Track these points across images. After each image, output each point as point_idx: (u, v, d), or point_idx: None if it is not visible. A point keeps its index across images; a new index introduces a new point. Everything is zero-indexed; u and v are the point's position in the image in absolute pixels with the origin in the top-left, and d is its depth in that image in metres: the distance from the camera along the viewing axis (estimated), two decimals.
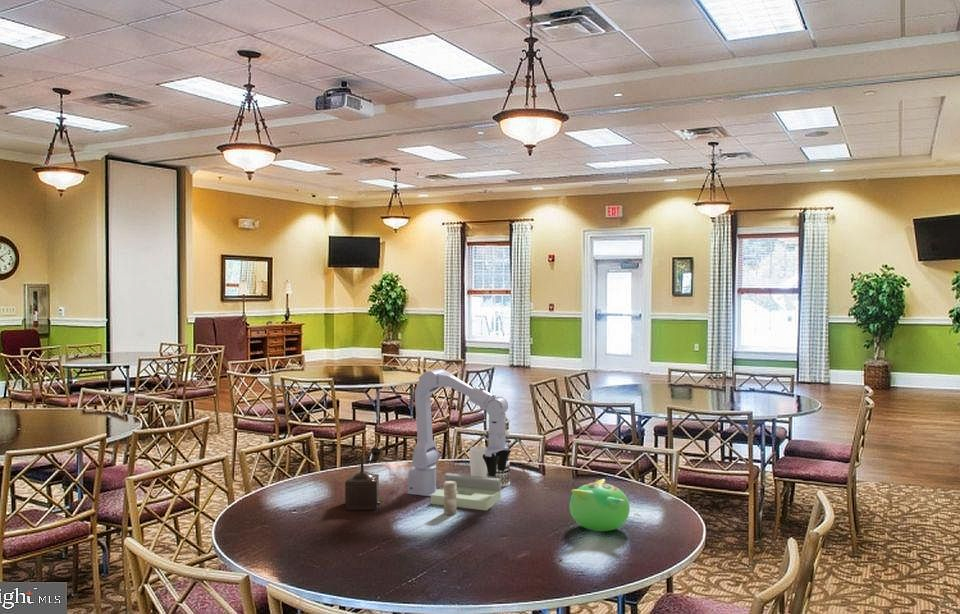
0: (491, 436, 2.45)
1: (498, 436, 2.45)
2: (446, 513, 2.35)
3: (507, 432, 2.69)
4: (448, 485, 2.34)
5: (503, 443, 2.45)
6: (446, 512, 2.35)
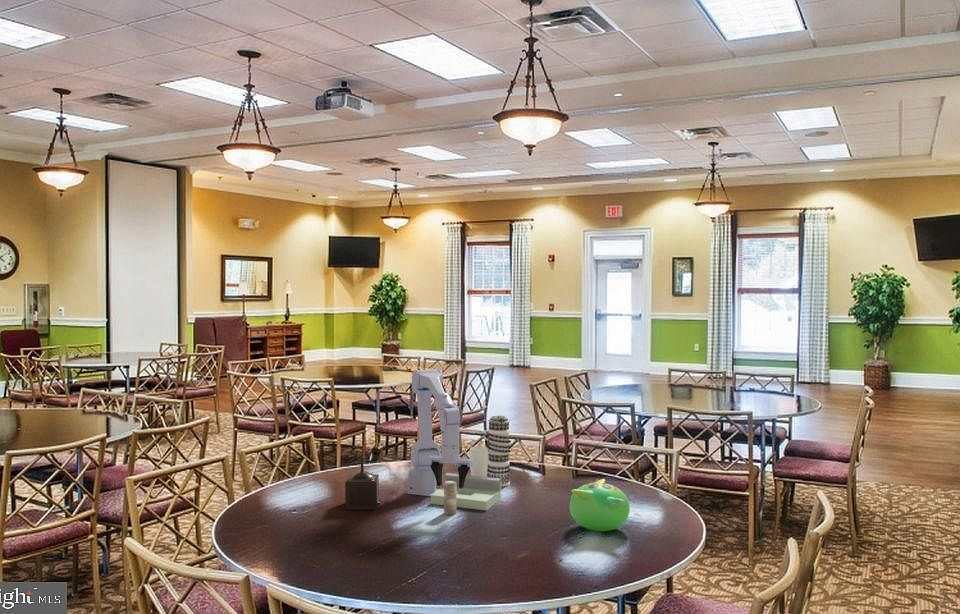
0: None
1: None
2: (446, 513, 2.35)
3: (507, 432, 2.69)
4: (448, 485, 2.34)
5: (444, 455, 2.33)
6: (446, 512, 2.35)
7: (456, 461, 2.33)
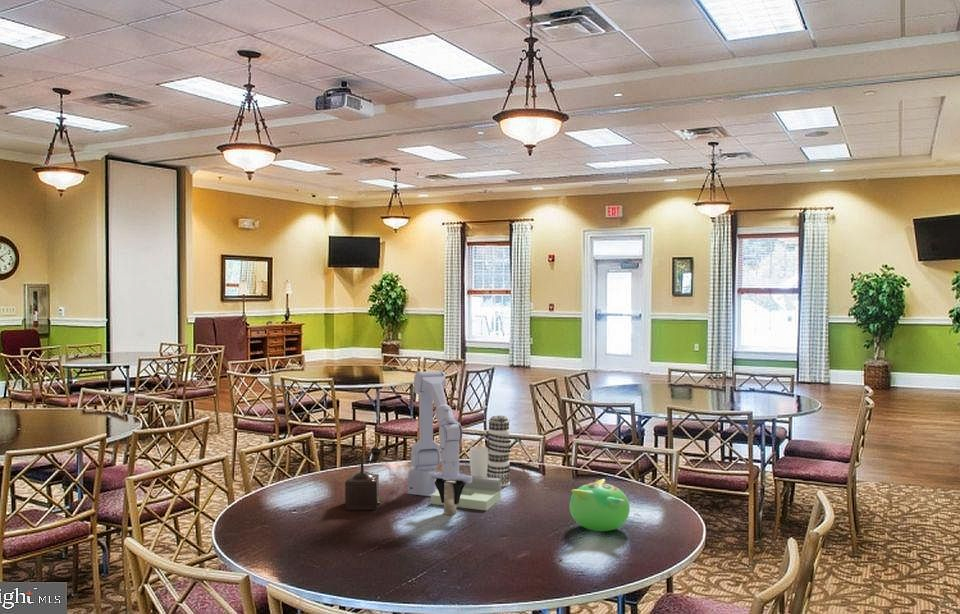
0: None
1: None
2: (446, 513, 2.35)
3: (507, 432, 2.69)
4: (448, 485, 2.34)
5: (444, 471, 2.33)
6: (446, 512, 2.35)
7: (456, 478, 2.33)
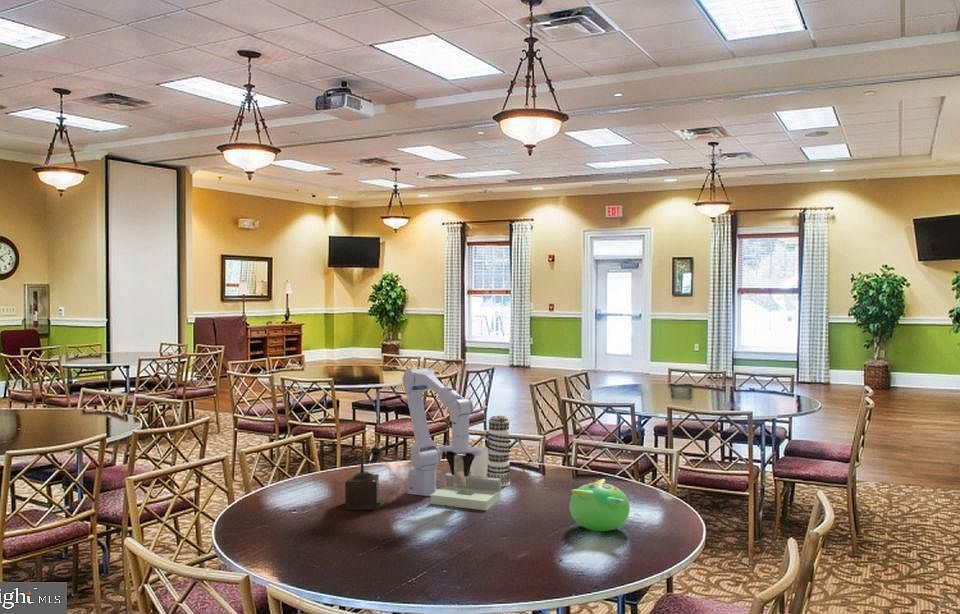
0: None
1: (452, 436, 2.43)
2: (456, 485, 2.42)
3: (507, 432, 2.69)
4: (458, 458, 2.42)
5: (454, 444, 2.41)
6: (456, 484, 2.42)
7: (466, 450, 2.41)
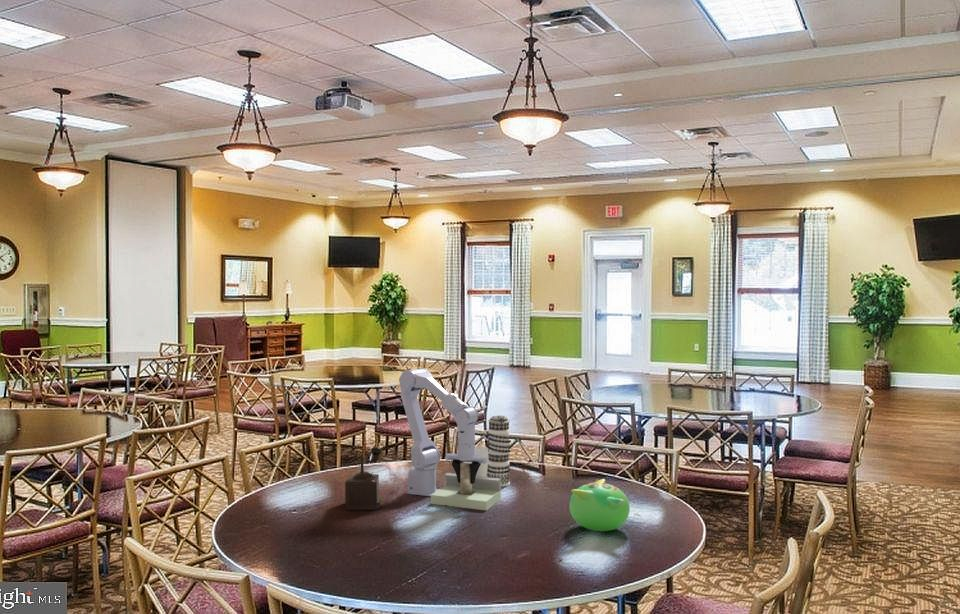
0: None
1: (458, 444, 2.48)
2: (462, 492, 2.48)
3: (507, 432, 2.69)
4: (464, 466, 2.47)
5: (461, 452, 2.46)
6: (462, 491, 2.48)
7: (472, 458, 2.46)
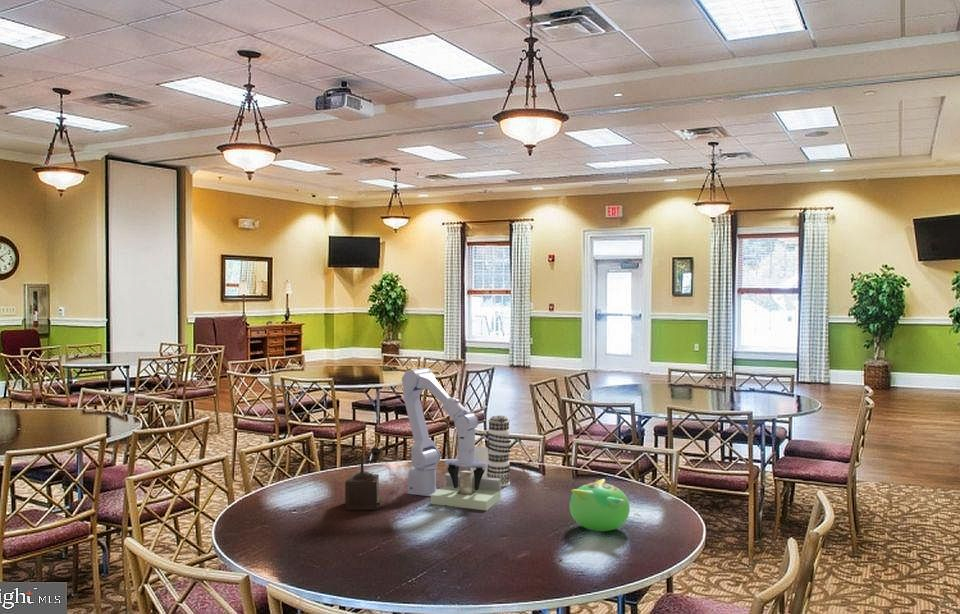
0: None
1: (458, 450, 2.48)
2: None
3: (507, 432, 2.69)
4: (464, 474, 2.47)
5: (461, 458, 2.47)
6: None
7: (472, 464, 2.46)
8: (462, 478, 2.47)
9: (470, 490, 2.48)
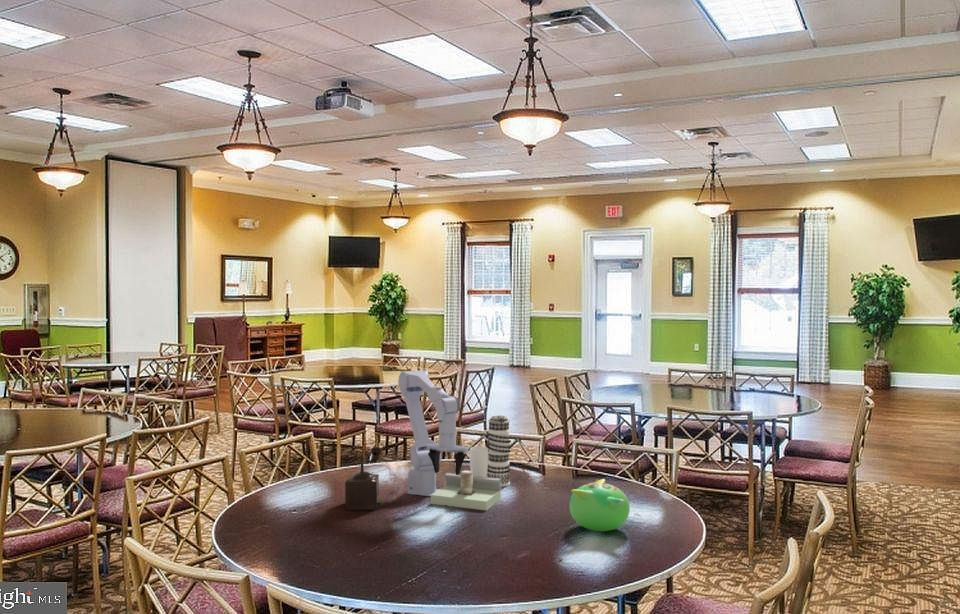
0: None
1: (439, 434, 2.45)
2: None
3: (507, 432, 2.69)
4: (465, 475, 2.47)
5: (441, 442, 2.43)
6: None
7: (453, 448, 2.43)
8: (463, 478, 2.47)
9: (470, 490, 2.48)
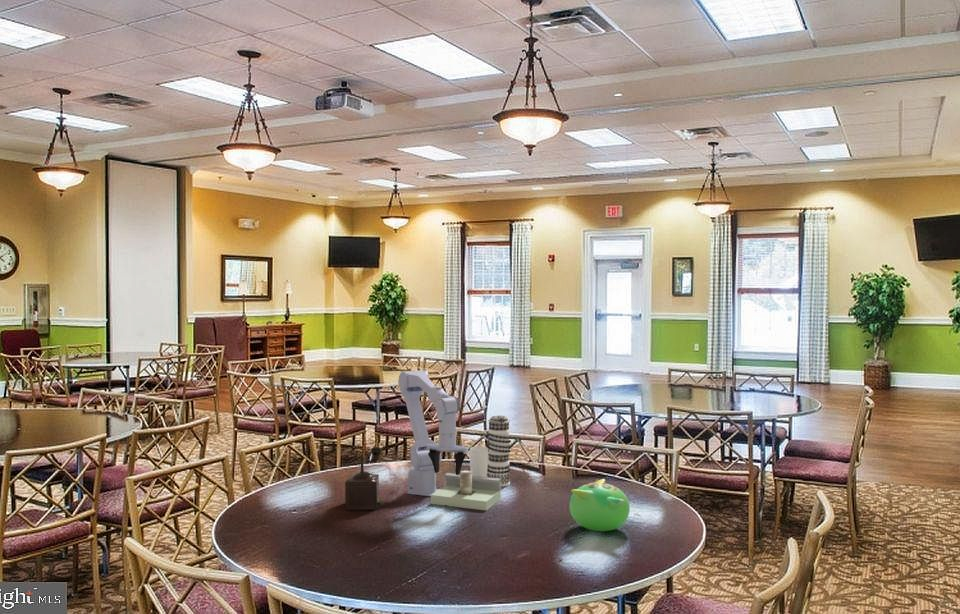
0: None
1: (439, 434, 2.45)
2: None
3: (507, 432, 2.69)
4: (464, 474, 2.47)
5: (441, 442, 2.43)
6: None
7: (453, 448, 2.43)
8: (462, 478, 2.48)
9: (470, 490, 2.48)
